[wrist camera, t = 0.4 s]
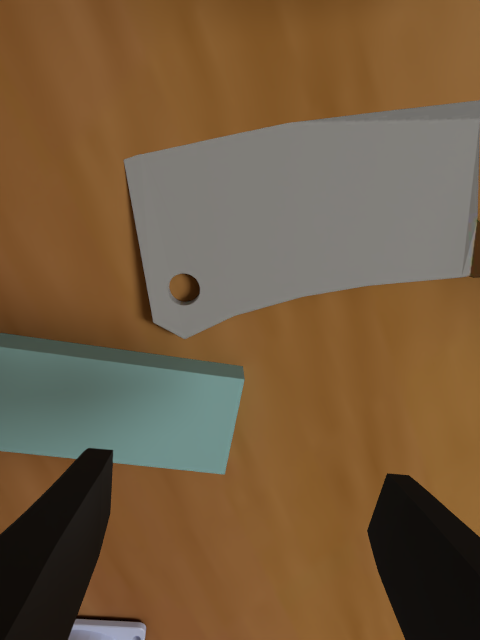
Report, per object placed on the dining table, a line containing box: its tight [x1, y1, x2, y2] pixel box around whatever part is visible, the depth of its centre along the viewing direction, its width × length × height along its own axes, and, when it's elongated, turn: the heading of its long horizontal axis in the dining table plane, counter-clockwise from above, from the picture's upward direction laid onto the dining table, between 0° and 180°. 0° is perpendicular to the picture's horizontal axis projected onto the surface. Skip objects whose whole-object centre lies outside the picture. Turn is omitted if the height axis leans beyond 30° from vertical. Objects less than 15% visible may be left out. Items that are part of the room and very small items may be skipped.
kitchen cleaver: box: [124, 100, 480, 339], centre depth 17 cm, size 24×1×10 cm
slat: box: [0, 333, 244, 474], centre depth 19 cm, size 6×18×2 cm, turn 80°
